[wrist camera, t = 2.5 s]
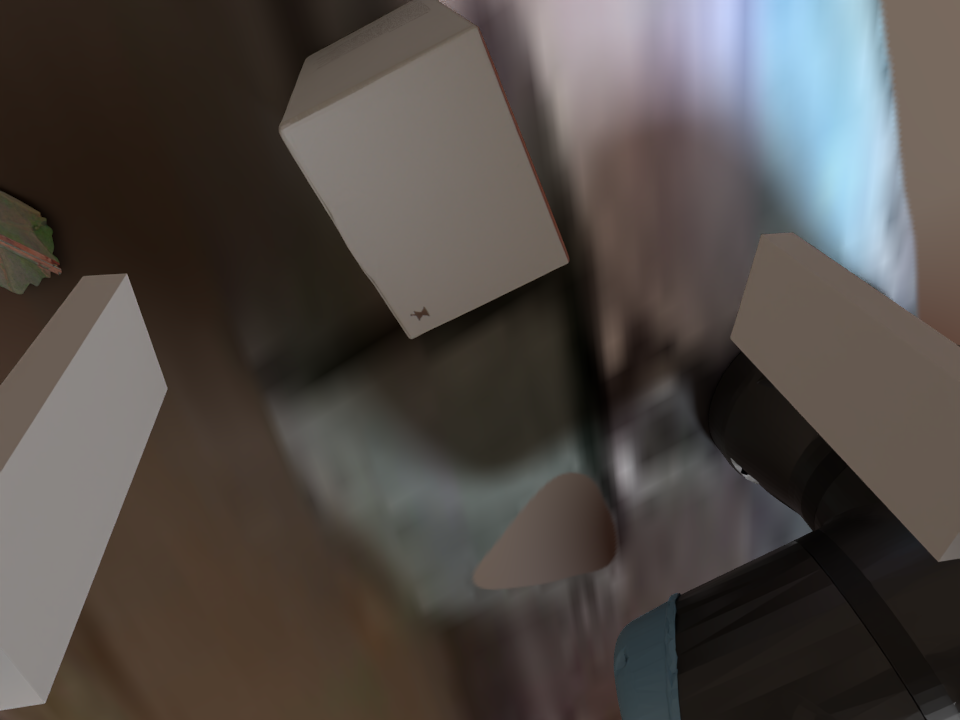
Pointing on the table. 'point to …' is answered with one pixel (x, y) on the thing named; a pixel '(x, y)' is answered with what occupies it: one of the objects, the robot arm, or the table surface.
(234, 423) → the table surface
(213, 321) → the table surface
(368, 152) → the small box
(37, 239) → the map
